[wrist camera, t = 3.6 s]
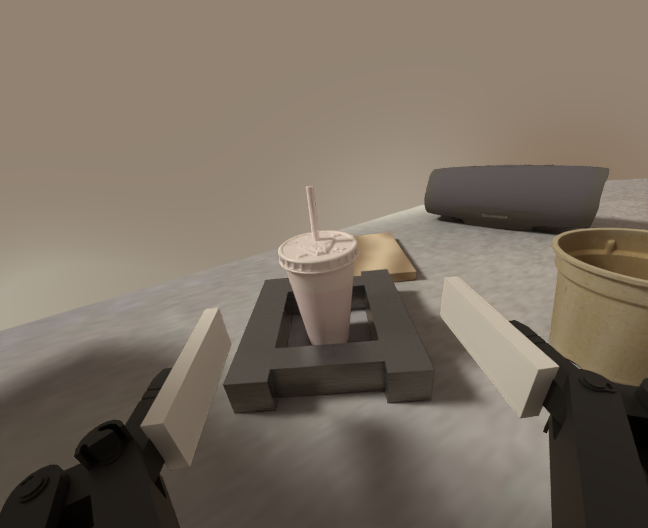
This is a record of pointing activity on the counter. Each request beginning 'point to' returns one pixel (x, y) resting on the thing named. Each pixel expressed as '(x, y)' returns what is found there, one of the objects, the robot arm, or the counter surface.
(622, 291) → the flower pot
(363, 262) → the birch board
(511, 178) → the bluetooth speaker
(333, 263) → the smoothie
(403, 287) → the counter surface
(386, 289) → the dark grey flat frame
